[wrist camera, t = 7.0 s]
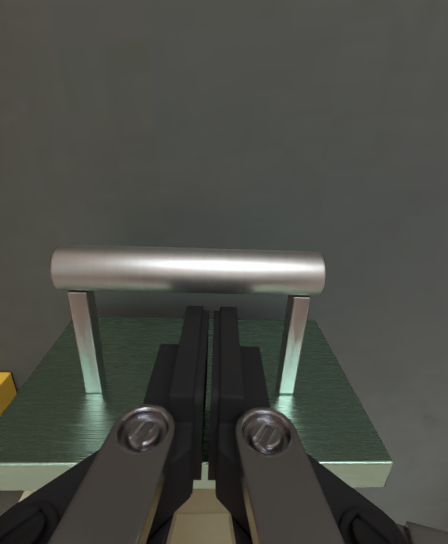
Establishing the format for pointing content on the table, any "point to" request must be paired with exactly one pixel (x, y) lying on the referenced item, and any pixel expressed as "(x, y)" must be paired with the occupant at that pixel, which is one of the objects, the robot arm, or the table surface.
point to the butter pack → (6, 390)
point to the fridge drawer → (258, 333)
